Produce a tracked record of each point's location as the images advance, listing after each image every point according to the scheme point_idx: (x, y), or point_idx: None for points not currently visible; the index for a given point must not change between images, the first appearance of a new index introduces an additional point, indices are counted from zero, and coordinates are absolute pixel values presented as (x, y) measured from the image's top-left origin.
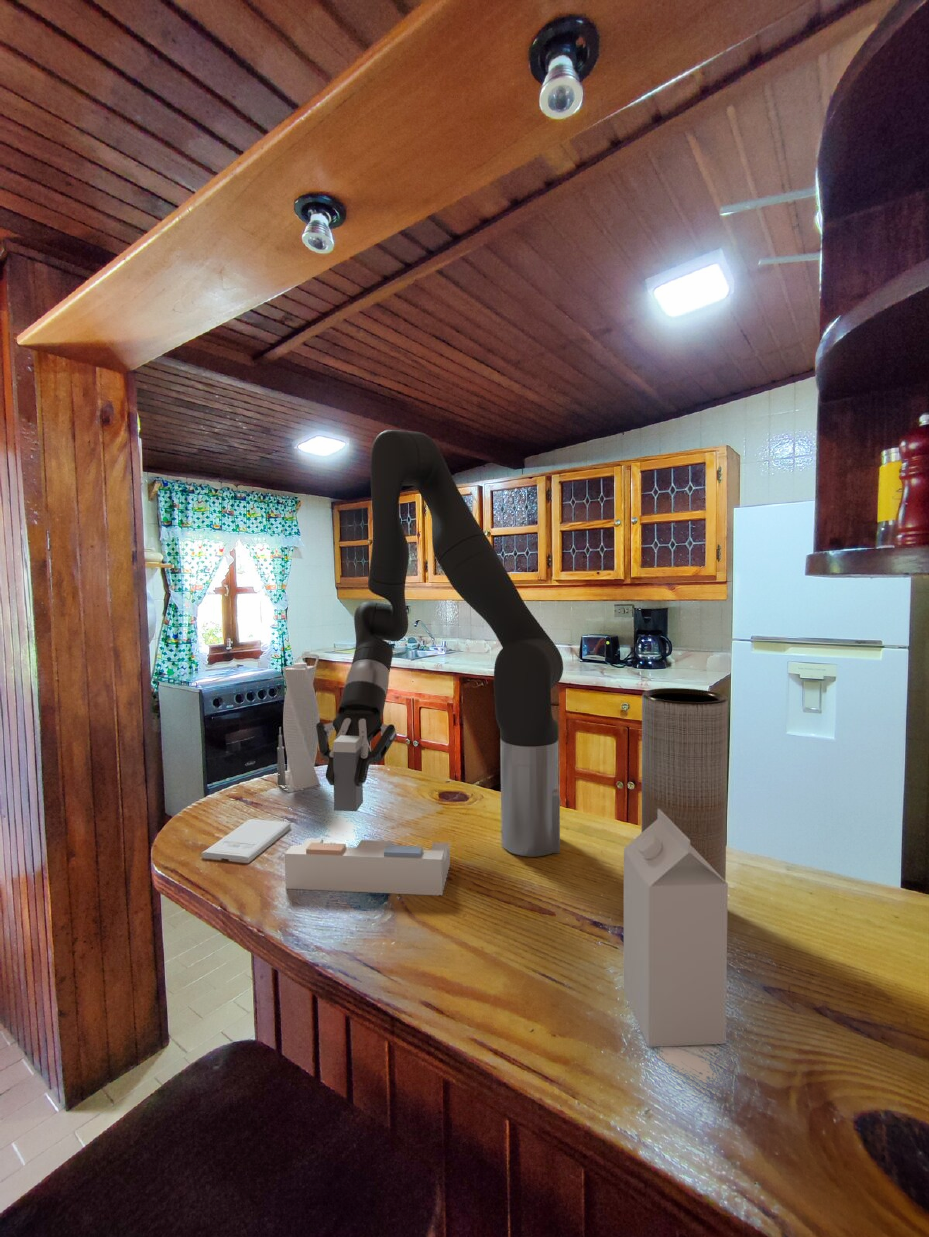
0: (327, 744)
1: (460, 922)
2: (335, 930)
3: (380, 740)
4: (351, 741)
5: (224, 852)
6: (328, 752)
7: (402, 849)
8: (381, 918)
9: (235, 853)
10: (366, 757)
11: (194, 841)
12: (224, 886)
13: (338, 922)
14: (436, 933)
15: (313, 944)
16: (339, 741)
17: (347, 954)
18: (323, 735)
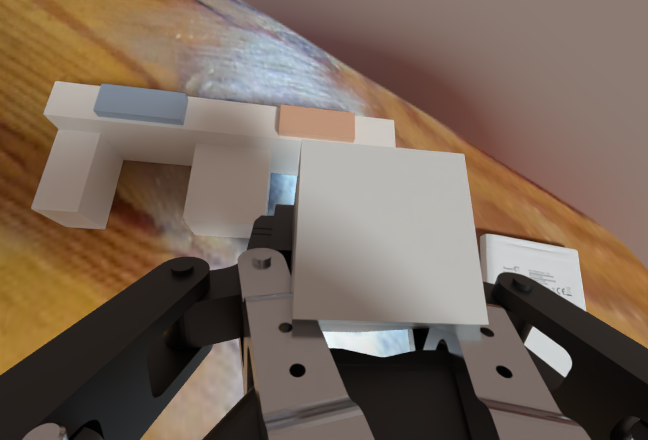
0: (555, 397)
1: (73, 65)
2: (262, 62)
3: (124, 334)
4: (338, 161)
5: (539, 249)
6: (485, 296)
7: (143, 100)
8: (200, 81)
9: (517, 245)
10: (246, 252)
11: (634, 320)
12: (470, 165)
13: (263, 77)
14: (114, 47)
15: (283, 41)
16: (424, 160)
17: (235, 23)
18: (632, 364)
